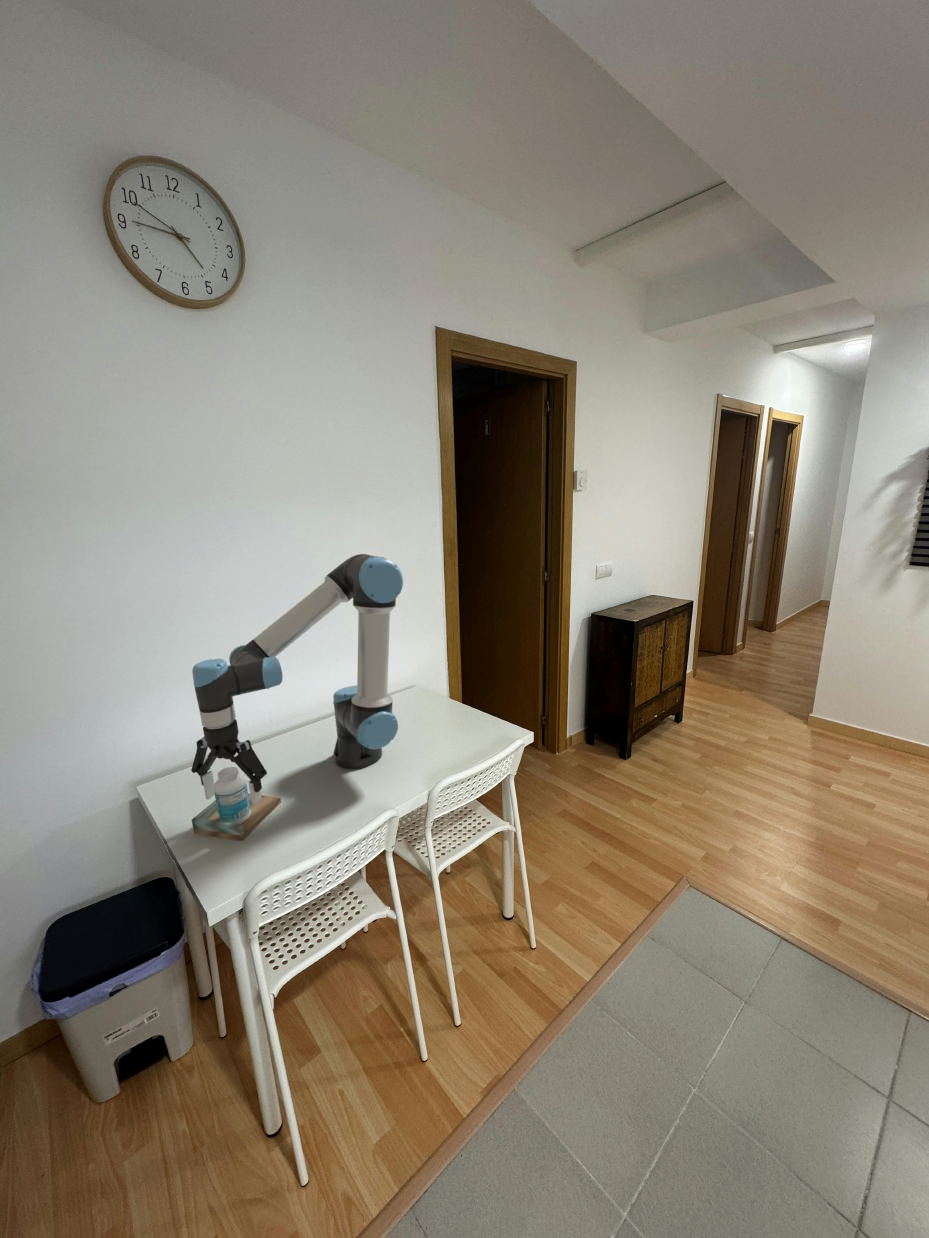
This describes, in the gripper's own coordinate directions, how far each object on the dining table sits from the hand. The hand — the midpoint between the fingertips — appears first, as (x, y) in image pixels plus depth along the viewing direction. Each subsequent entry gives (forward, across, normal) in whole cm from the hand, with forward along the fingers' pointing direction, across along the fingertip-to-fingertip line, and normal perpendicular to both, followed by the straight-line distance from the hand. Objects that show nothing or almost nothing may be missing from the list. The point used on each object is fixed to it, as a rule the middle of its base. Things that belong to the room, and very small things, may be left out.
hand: (233, 799), depth 126 cm
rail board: (+7, +1, -2) cm, 7 cm away
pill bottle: (+6, 0, 0) cm, 6 cm away
